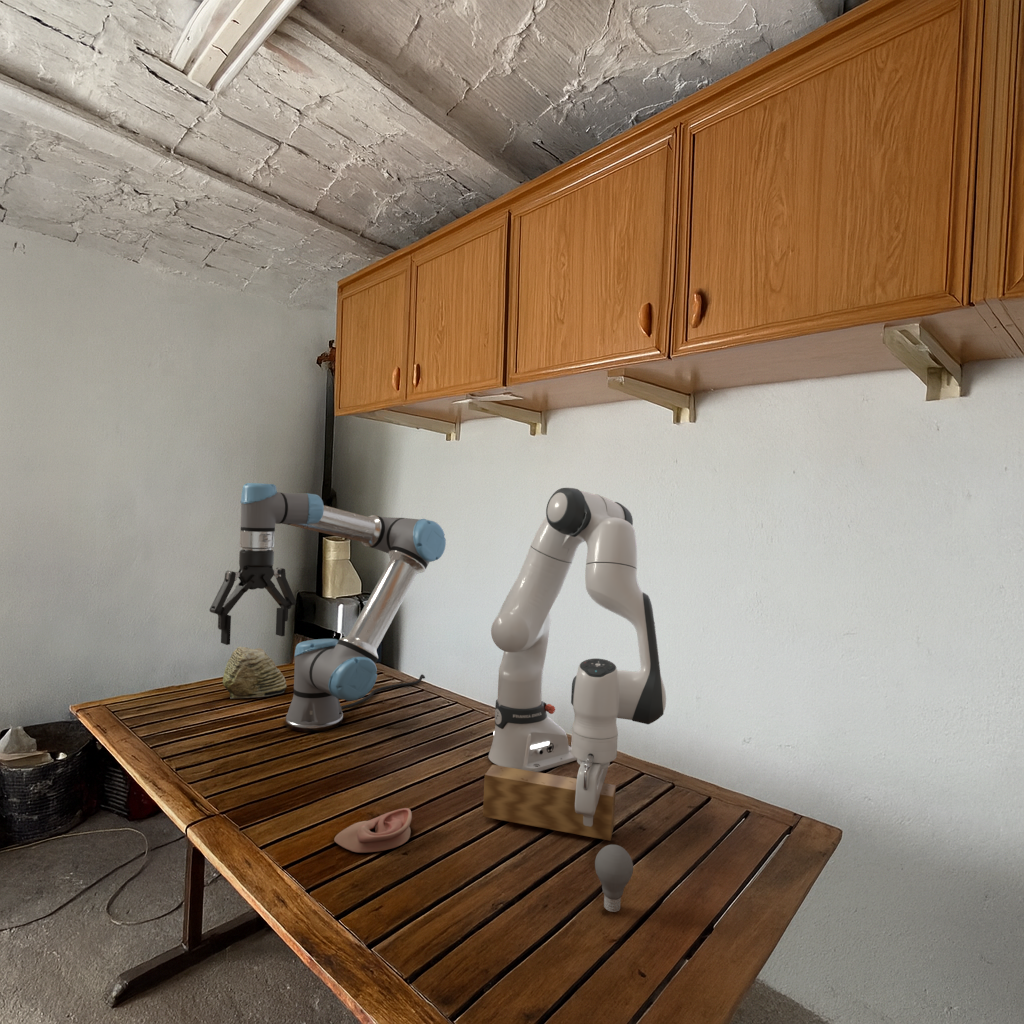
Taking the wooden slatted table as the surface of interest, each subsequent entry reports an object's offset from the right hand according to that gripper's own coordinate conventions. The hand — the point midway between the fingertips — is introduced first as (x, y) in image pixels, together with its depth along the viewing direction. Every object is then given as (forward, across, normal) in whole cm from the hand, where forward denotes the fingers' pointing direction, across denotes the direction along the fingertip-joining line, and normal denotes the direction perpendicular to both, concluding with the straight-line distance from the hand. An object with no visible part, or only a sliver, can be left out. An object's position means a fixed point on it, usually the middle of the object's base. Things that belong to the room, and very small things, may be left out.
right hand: (590, 816), depth 123 cm
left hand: (-25, +5, +81) cm, 85 cm away
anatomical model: (+4, -15, +38) cm, 42 cm away
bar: (+3, 0, +8) cm, 9 cm away
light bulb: (+4, -22, -7) cm, 23 cm away
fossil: (+4, +47, +112) cm, 122 cm away
